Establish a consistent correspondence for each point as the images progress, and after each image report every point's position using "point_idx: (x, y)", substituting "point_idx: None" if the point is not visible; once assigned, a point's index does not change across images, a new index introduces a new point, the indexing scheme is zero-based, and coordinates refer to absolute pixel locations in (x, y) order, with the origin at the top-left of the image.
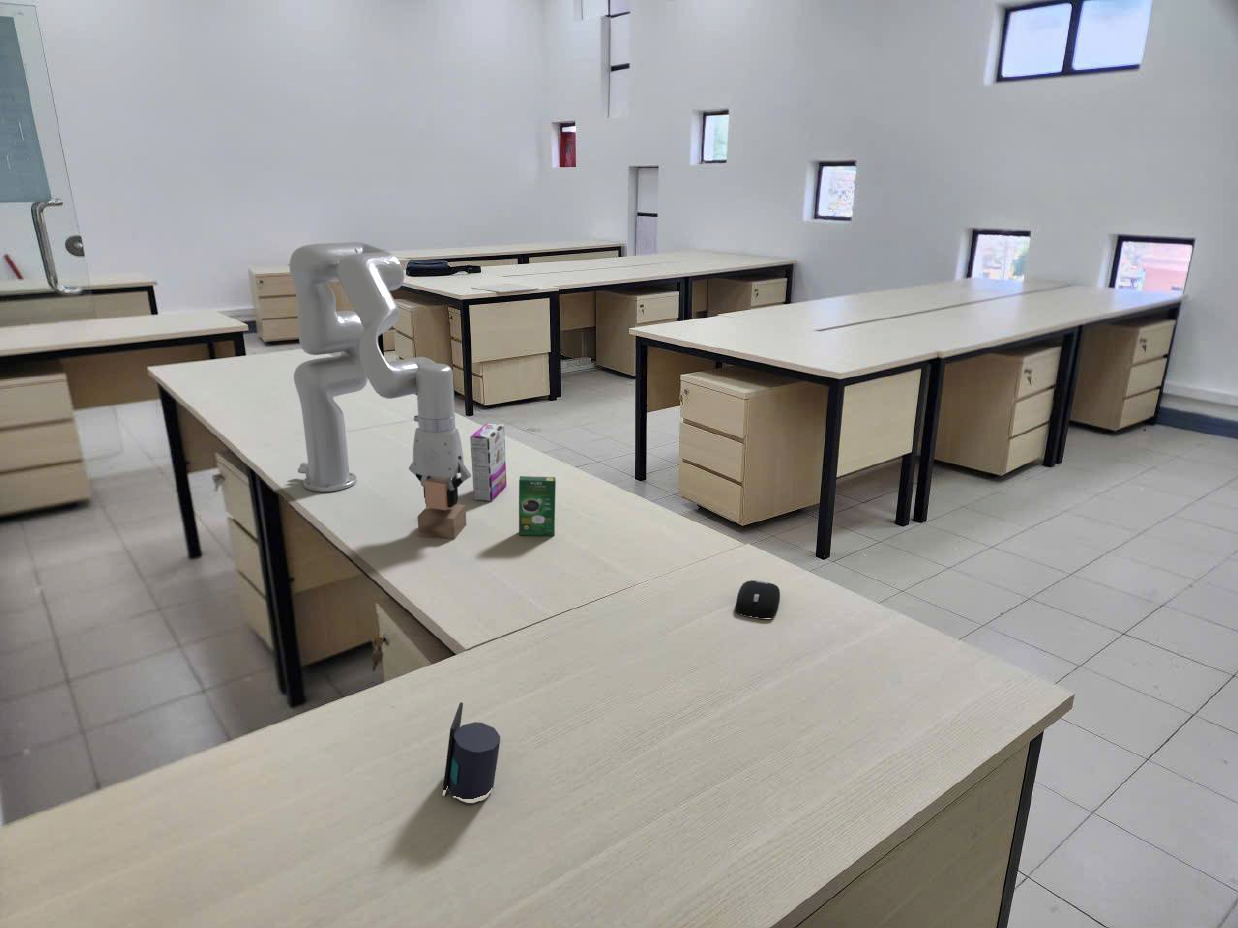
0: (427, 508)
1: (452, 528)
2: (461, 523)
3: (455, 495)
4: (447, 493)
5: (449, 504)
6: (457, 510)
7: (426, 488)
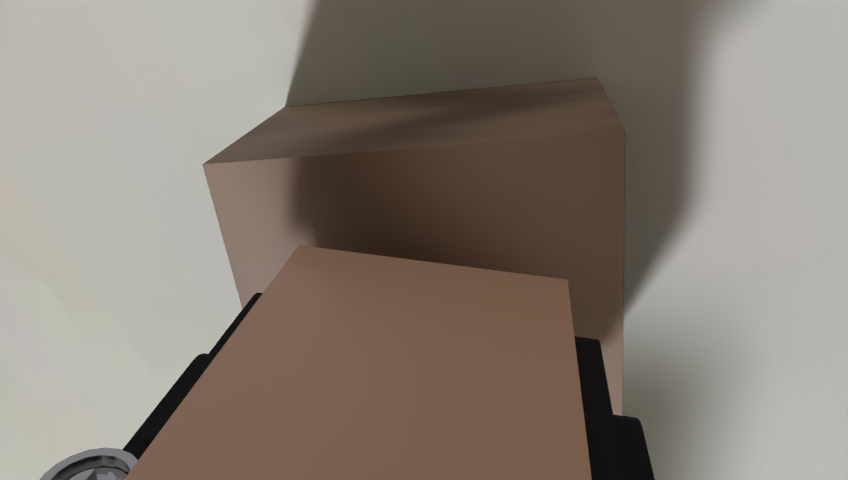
0: None
1: (261, 130)
2: None
3: None
4: None
5: (244, 309)
6: None
7: (550, 459)
